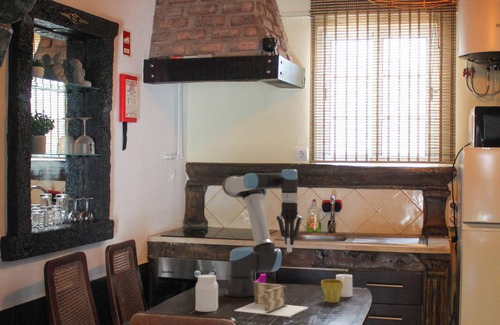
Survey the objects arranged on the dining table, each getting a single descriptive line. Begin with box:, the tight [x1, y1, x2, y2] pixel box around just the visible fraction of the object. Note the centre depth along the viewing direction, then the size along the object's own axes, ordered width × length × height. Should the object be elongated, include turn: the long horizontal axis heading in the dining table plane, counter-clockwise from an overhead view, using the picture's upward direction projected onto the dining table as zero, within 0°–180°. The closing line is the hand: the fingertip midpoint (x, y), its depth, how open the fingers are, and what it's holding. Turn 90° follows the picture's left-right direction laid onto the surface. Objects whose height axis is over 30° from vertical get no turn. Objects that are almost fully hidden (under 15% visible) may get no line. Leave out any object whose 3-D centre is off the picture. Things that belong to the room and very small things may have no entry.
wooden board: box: [264, 285, 287, 311], centre depth 319 cm, size 19×2×9 cm, turn 150°
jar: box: [194, 274, 219, 313], centre depth 321 cm, size 12×10×15 cm
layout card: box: [234, 301, 310, 318], centre depth 321 cm, size 27×22×1 cm
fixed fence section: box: [254, 280, 283, 304], centre depth 330 cm, size 14×2×10 cm, turn 62°
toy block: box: [253, 273, 267, 284], centre depth 375 cm, size 15×6×8 cm, turn 90°
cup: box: [335, 273, 353, 298], centre depth 352 cm, size 8×12×10 cm
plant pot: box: [320, 278, 343, 303], centre depth 339 cm, size 10×10×10 cm
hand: (289, 251), depth 334 cm, fingers closed
